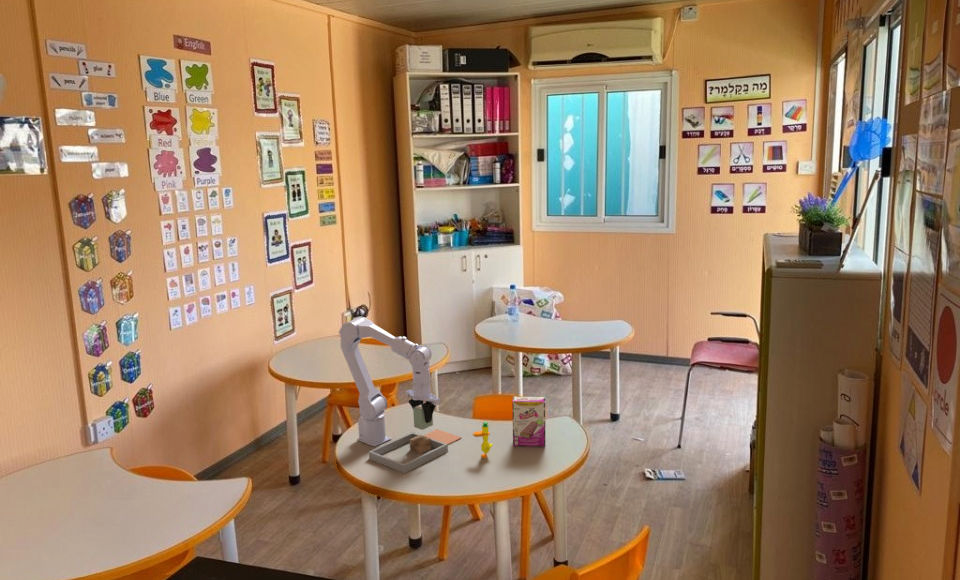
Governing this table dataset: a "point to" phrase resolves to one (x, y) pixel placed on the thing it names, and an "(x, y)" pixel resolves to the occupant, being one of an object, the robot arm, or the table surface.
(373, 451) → the parts bin
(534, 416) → the candy bar box
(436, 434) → the mat
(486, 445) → the toy figure
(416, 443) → the walnut block
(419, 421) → the labelled box
